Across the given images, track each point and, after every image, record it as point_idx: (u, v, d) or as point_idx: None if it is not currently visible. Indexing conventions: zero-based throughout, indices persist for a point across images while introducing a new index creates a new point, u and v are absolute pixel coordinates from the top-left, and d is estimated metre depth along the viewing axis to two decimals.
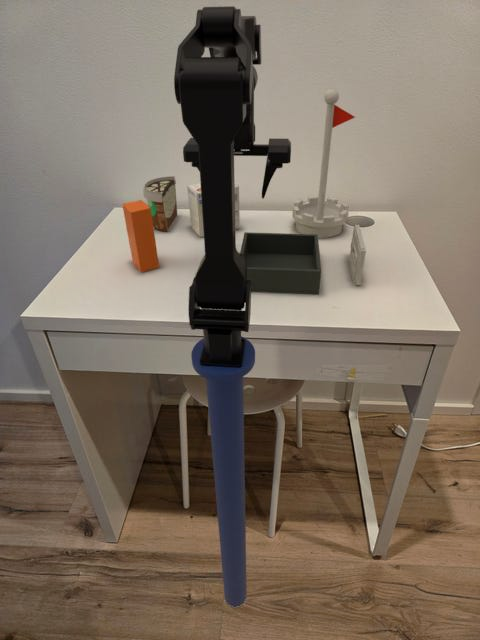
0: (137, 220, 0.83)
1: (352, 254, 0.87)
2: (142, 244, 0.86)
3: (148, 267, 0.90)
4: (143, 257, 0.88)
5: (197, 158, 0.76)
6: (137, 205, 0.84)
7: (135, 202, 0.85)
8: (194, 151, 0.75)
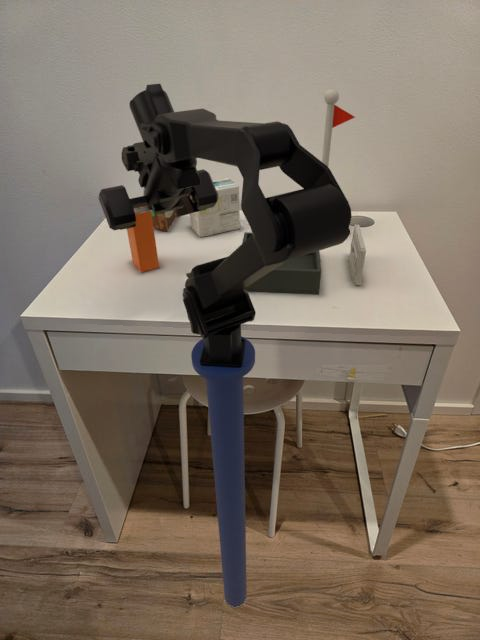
0: (137, 220, 0.83)
1: (352, 254, 0.87)
2: (142, 244, 0.86)
3: (148, 267, 0.90)
4: (143, 257, 0.88)
5: (127, 225, 0.68)
6: None
7: None
8: (125, 222, 0.67)
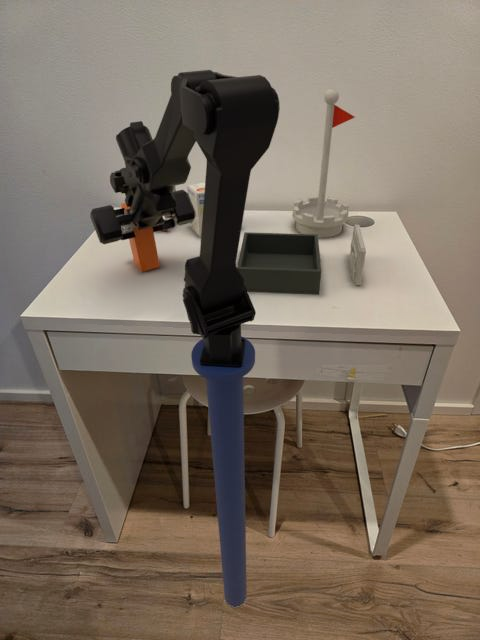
0: None
1: (352, 254, 0.87)
2: (142, 244, 0.86)
3: (149, 266, 0.90)
4: (143, 256, 0.88)
5: (115, 240, 0.79)
6: None
7: None
8: (113, 238, 0.77)
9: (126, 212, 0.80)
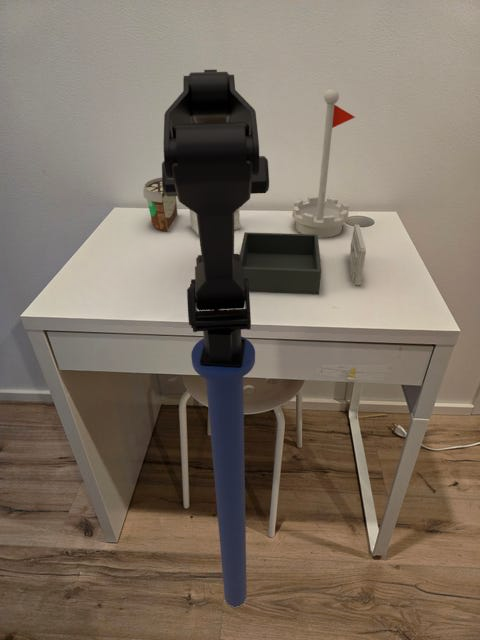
0: None
1: (352, 254, 0.87)
2: None
3: None
4: None
5: None
6: None
7: None
8: (174, 191, 0.76)
9: None
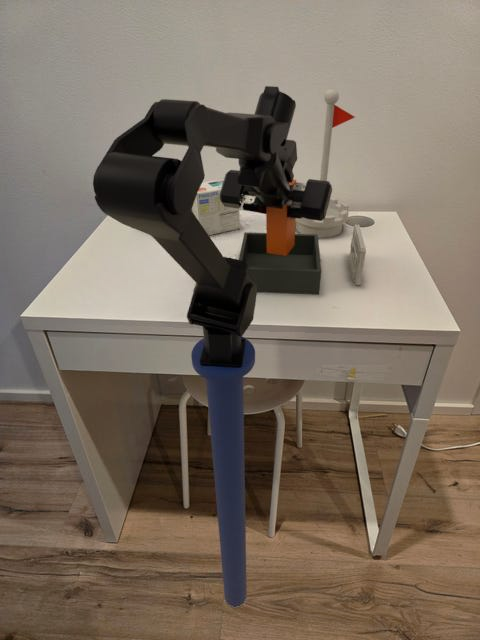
0: None
1: (352, 254, 0.87)
2: (272, 224, 0.80)
3: (274, 251, 0.83)
4: (271, 238, 0.82)
5: (233, 206, 0.77)
6: None
7: None
8: (229, 202, 0.76)
9: None
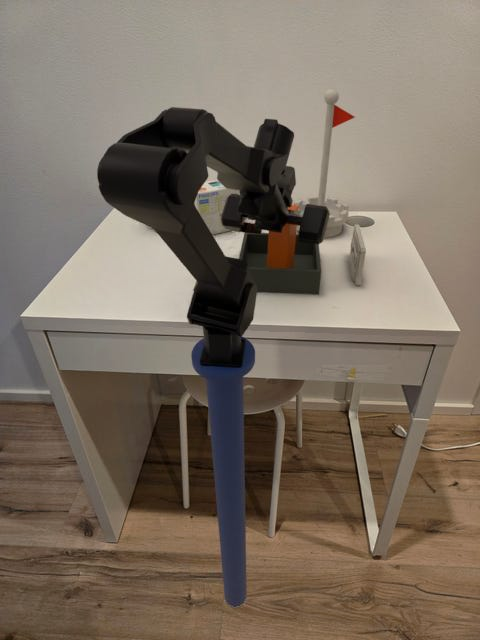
0: None
1: (352, 254, 0.87)
2: (273, 247, 0.83)
3: None
4: (272, 260, 0.85)
5: (234, 229, 0.79)
6: None
7: None
8: (230, 225, 0.78)
9: None
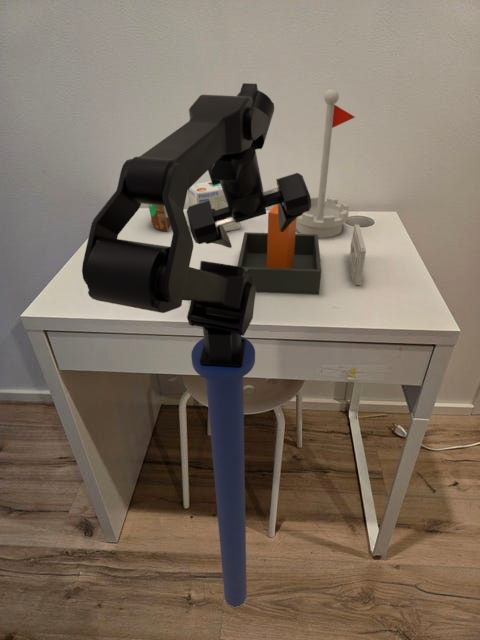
0: (273, 222, 0.80)
1: (352, 254, 0.87)
2: (273, 248, 0.83)
3: None
4: (271, 260, 0.85)
5: (210, 238, 0.67)
6: None
7: None
8: (206, 234, 0.66)
9: None
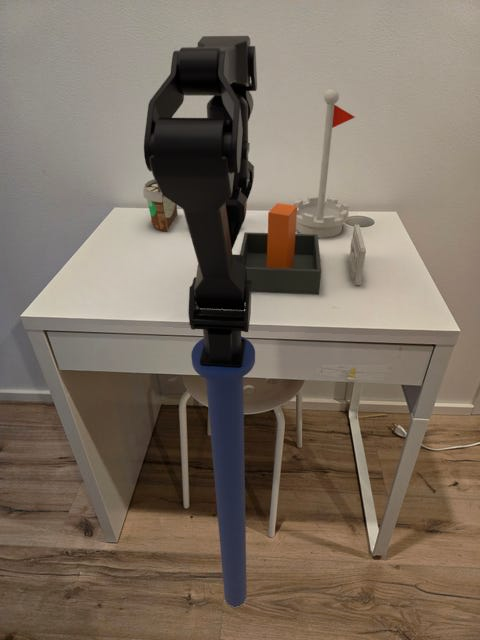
0: (273, 222, 0.80)
1: (352, 254, 0.87)
2: (273, 248, 0.83)
3: None
4: (271, 260, 0.85)
5: (245, 208, 0.61)
6: (284, 209, 0.80)
7: (287, 205, 0.82)
8: (244, 202, 0.60)
9: None
